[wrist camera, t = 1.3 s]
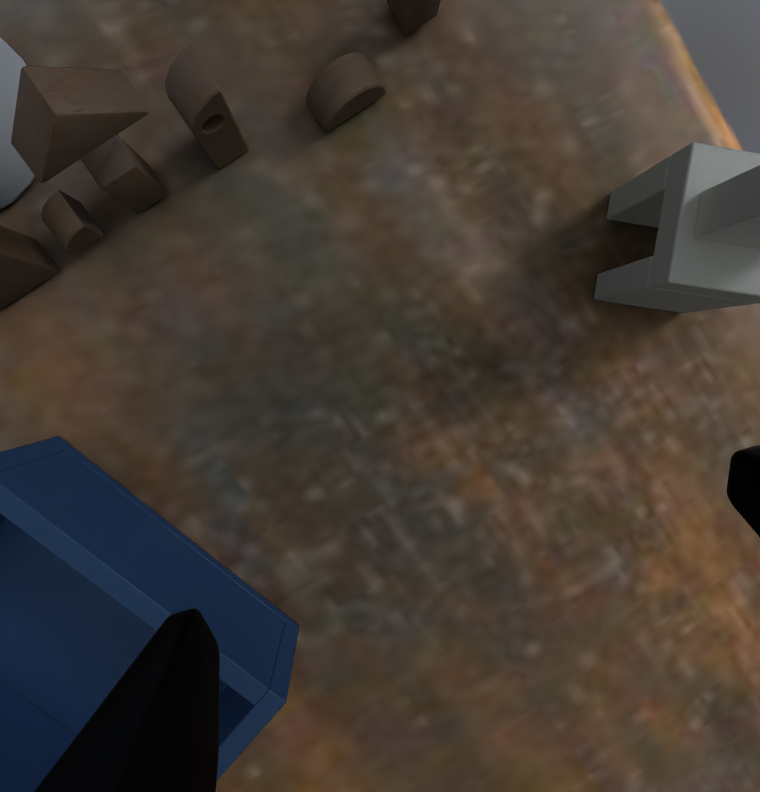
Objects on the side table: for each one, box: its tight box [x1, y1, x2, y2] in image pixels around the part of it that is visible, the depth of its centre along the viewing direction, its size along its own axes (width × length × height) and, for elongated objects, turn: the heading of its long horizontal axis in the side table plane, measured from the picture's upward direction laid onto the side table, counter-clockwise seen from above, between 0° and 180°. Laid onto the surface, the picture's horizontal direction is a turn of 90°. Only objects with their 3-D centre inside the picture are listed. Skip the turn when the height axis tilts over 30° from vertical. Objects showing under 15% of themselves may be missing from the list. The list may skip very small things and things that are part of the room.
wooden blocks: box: [0, 0, 440, 310], centre depth 17 cm, size 30×3×8 cm, turn 124°
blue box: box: [0, 436, 299, 792], centre depth 19 cm, size 14×11×5 cm
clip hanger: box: [594, 142, 760, 313], centre depth 18 cm, size 5×4×8 cm
